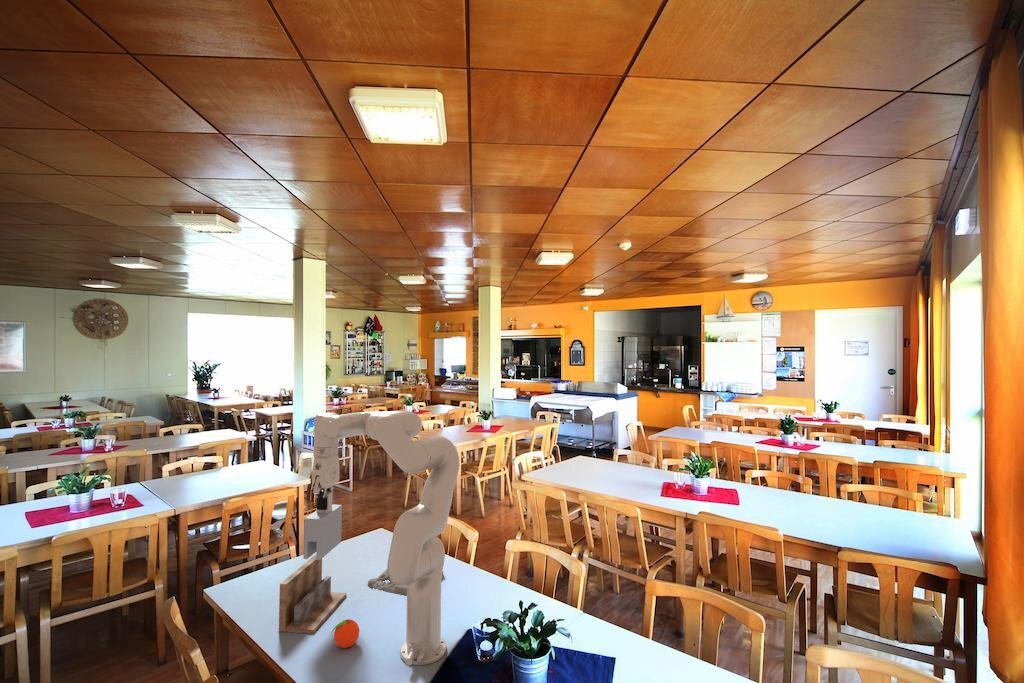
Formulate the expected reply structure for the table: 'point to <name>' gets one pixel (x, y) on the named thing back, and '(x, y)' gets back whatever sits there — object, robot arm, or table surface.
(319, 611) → the wooden stand
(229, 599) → the table surface
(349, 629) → the clementine
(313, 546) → the white box with handle
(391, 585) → the wall plaque
